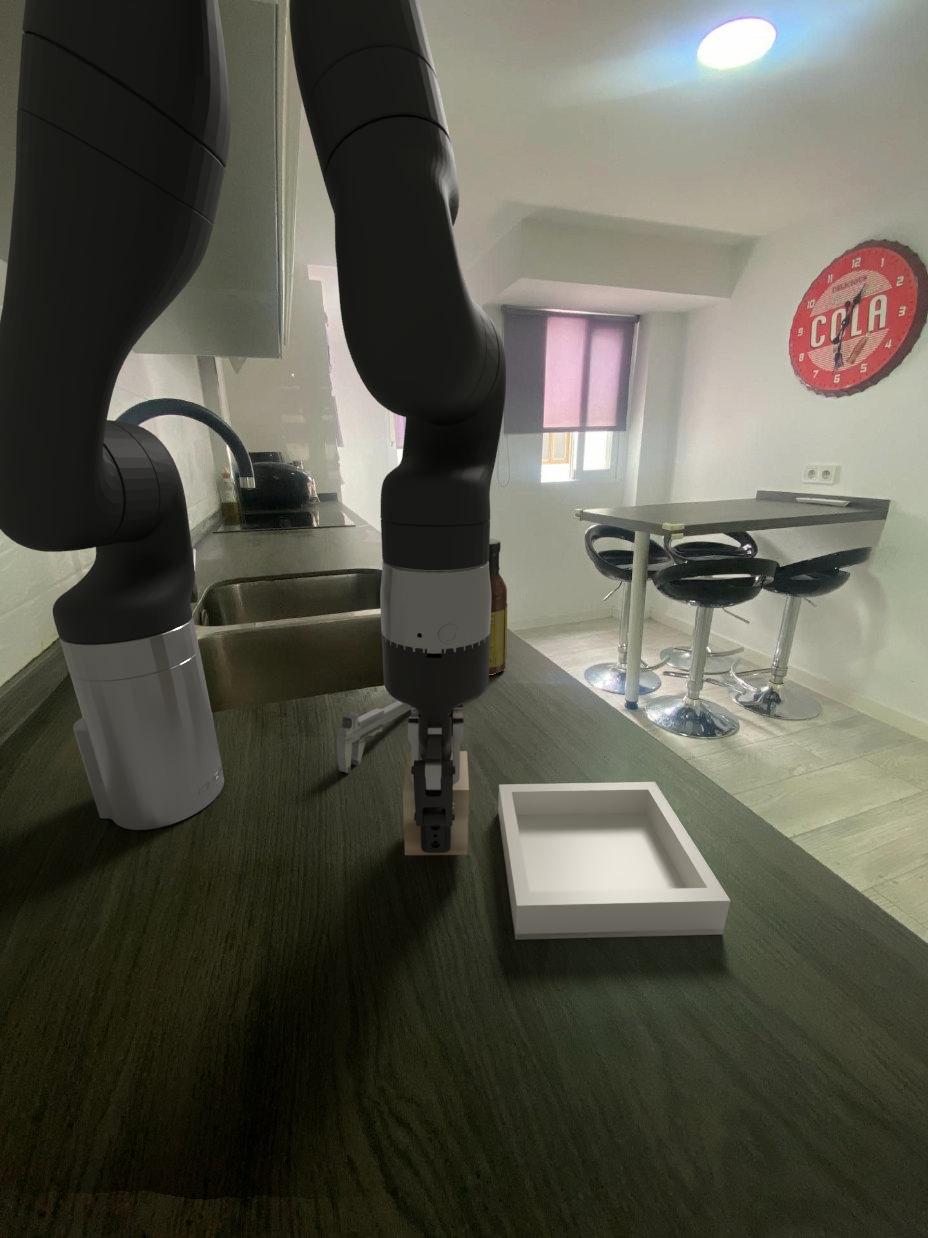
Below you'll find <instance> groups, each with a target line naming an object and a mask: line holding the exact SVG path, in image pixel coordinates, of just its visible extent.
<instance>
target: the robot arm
mask: <svg viewBox="0 0 928 1238" xmlns="http://www.w3.org/2000/svg"><path fill="white" fill-rule="evenodd" d="M288 6H289V9H288V10H289V15H288V16H289V29H290V30H289V31H290V39H291V49H292V55H293V62H294V63H293V64H294V69H295V74H296V80H297V83H298V84H297V85H298V89H299V93H300V96H301V100H302V106H303V108H304V114H305V117H306V121H307V125H308V127H309V131H310V135H311V138H312V142H313V146H314V149H315V153H316V157H317V160H318V163H319V167H320V168H319V169H320V172H321V174H322V179H323V183H324V186H325V188H326V192H327V196H328V198H329V199H328V200H329V203H330V206H331V209H332V211H333V217H334V248H335V249H334V252H335V259H336V261H335V262H336V270H337V283H338V297H339V309H340V317H341V323H342V329H343V333H344V335H343V336H344V339H345V341H346V342H345V343H346V346H347V349H348V352H349V354H350V358H351V360H352V362H353V365H354V367H355V369H356V372H357V374H358V376H359V377H360V380H361V382H362V384H363V385H364V387H365V388H366V390H367V392H368V393H369V394H370V395H371V396H372V397H373V399H374V400H376V402H377V403H378V404H380V405H381V406H382V407H384V408H385V409H386V410H388V411H389V412H391V413H393V414H395V415H397V416H401V417H403V418H405V424H404V425H405V426H404V434H403V435H404V436H403V437H404V438H403V446H402V456H401V461H400V463H398V465H397V466H396V467H395V468H394V469H392V470H391V471H390V472H389V473H387V475H386V476H385V477H384V478H383V481H382V484H381V491H380V535H381V558H382V562H381V563H382V569H381V578H380V579H381V580H380V591H379V595H380V596H379V598H380V600H379V602H380V603H379V605H380V623H381V624H380V626H381V643H382V644H381V645H382V670H383V673H382V674H383V675H382V676H383V686H384V687H385V688H384V689H385V690H386V692H387V693H388V694H389V695H390V697H392V698H393V699H395V700H396V701H400V702H402V703H406V704H408V705H410V706H411V709H410V714H411V715H410V716H409V717H408V722H407V740H408V742H409V744H410V746H411V750H410V751H411V779H412V781H413V782H414V797H415V814H414V821H416V826H421V849H422V851H424V852H426V853H445V852H448V851H449V850H450V848H451V826H452V820H453V821H455V813H452V811H453V809H454V802H453V785H454V784H456V783H457V782H458V781H459V779H460V751H461V744H462V743H463V742H464V731H465V730H464V729H465V728H464V725H465V722H464V715H463V714H464V710H463V709H464V704H469V703H471V702H472V701H475V700H476V699H477V698H479V697H481V696H482V695H483V694H484V692H485V691H486V690H487V688H488V686H489V680H490V679H489V678H490V676H489V655H490V623H491V584H490V575H489V561H488V560H489V543H490V539H491V537H490V535H491V498H490V495H491V485H492V484H491V483H492V478H493V474H494V473H493V472H494V471H495V465H496V460H497V456H498V455H497V454H498V450H499V449H498V448H499V442H500V436H501V431H502V424H503V418H504V412H505V405H506V404H505V403H506V394H507V392H506V390H507V363H506V351H505V348H504V343H503V340H502V338H501V334H500V331H499V329H498V327H497V326H496V324H495V323H494V321H493V320H492V319H491V317H490V316H489V315H488V314H487V312H485V311H484V310H483V309H482V307H481V306H479V304H477V303H476V301H475V299H473V298H472V297H471V296H470V295H471V294H470V292H469V290H468V286H467V283H466V280H465V278H464V274H463V271H462V268H461V263H460V259H459V258H460V257H459V254H458V253H459V252H458V249H457V243H456V238H455V232H454V225H455V223H456V220H457V217H458V213H459V209H460V208H459V206H460V190H459V189H460V188H459V178H458V171H457V167H456V159H455V156H454V155H455V154H454V150H453V146H452V141H451V137H450V132H449V127H448V122H447V118H446V113H445V109H444V105H443V100H442V93H441V90H440V86H439V81H438V76H437V73H436V68H435V65H434V64H435V63H434V59H433V55H432V51H431V48H430V42H429V39H428V34H427V31H426V30H427V29H426V25H425V22H424V18H423V13H422V9H421V5H420V1H419V0H289V5H288ZM222 26H223V25H222V20H221V12H220V7H219V0H25V2H24V11H23V21H22V28H21V29H22V32H23V33H22V34H21V46H20V47H21V49H20V61H19V62H20V63H19V79H18V91H17V92H18V95H17V110H16V137H15V138H16V139H15V140H16V142H15V143H16V145H15V147H16V148H15V178H14V191H13V202H12V203H13V204H12V213H11V214H12V215H11V227H10V236H9V237H10V238H9V248H8V258H7V265H6V275H5V285H4V293H3V302H2V308H1V309H2V310H1V313H0V314H1V315H0V531H1V532H2V533H3V534H4V535H5V536H6V537H7V538H9V539H10V540H11V541H12V542H13V543H14V542H15V543H16V544H18V545H20V546H21V547H24V548H26V549H29V550H32V551H37V552H45V553H49V552H50V553H53V552H54V553H57V552H58V553H59V552H60V553H61V552H62V553H63V552H72V551H82V550H87V549H94V548H95V559H94V562H93V564H92V566H91V567H90V568H89V570H88V571H87V572H86V574H85V575H84V576H83V577H82V578H81V579H80V580H79V581H78V582H76V584H75V585H72V586H71V587H70V588H69V589H68V590H66V591H65V592H64V593H62V594H61V595H60V596H59V597H58V598H57V599H56V600H55V602H54V603H53V605H52V616H53V621H54V624H55V628H56V632H57V635H58V637H59V642H60V645H61V648H62V652H63V655H64V658H65V662H66V665H67V669H68V673H69V675H70V679H71V682H72V685H73V688H74V692H75V695H76V699H77V702H78V705H79V709H80V712H81V718H79V719H78V720H76V721H75V723H74V724H73V726H72V729H73V733H74V735H75V739H76V742H77V743H76V744H77V746H78V750H79V753H80V756H81V760H82V762H83V766H84V769H85V772H86V776H87V778H88V783H89V786H90V788H91V789H90V790H91V792H92V796H93V798H94V803H95V805H96V808H97V812H98V816H99V818H100V819H110V820H112V821H113V822H114V824H116V825H117V826H119V827H121V828H123V829H127V830H133V831H137V830H138V831H142V830H143V831H147V830H154V829H159V828H162V827H167V826H171V825H174V824H176V823H179V822H181V821H183V820H186V819H188V818H190V817H191V816H194V815H196V814H197V813H199V812H200V811H202V810H204V809H205V808H206V807H207V806H209V805H210V804H211V803H212V802H213V801H214V800H216V798H217V797H218V796H219V794H220V793H221V792H222V790H223V788H224V785H225V776H224V771H223V763H222V760H221V755H220V750H219V742H218V738H217V733H216V728H215V722H214V717H213V712H212V707H211V702H210V697H209V691H208V687H207V681H206V676H205V671H204V666H203V661H202V656H201V650H200V647H199V646H200V645H199V641H198V640H199V639H198V636H197V630H196V627H195V625H196V624H195V620H194V616H193V610H192V602H191V601H192V595H193V591H194V587H195V583H196V569H195V561H194V552H193V546H192V544H193V543H192V538H191V530H190V529H191V528H190V521H189V520H190V519H189V513H188V506H187V501H186V500H187V499H186V495H185V490H184V485H183V481H182V478H181V475H180V473H179V469H178V467H177V465H176V463H175V460H174V458H173V457H172V455H171V452H170V451H169V449H168V448H167V447H166V445H165V444H164V443H163V441H161V440H160V439H159V438H158V437H157V436H156V434H153V433H152V432H151V431H150V430H148V429H146V428H144V427H142V426H140V425H138V424H134V423H130V422H126V421H120V420H112V419H108V415H109V410H110V406H111V402H112V401H111V400H112V397H113V393H114V389H115V385H116V383H117V380H118V376H119V374H120V371H121V369H122V368H123V365H124V363H125V362H126V359H127V357H128V356H129V355H130V353H131V351H132V349H133V347H134V346H135V345H136V344H137V342H138V341H139V340H140V339H141V338H142V337H143V335H144V334H145V332H146V331H147V330H148V329H149V328H150V327H151V325H152V324H153V323H154V322H156V320H157V319H158V318H159V317H161V315H162V314H163V313H164V311H166V309H167V308H168V307H169V306H170V305H171V304H172V303H173V302H174V300H175V299H176V298H177V297H178V295H180V293H181V292H182V290H184V288H185V287H186V286H187V285H188V283H189V282H190V280H191V279H192V277H193V276H194V274H196V271H197V270H198V269H199V267H200V266H201V263H202V262H203V260H204V257H205V254H206V252H207V250H208V246H209V243H210V240H211V236H212V234H213V233H212V231H213V230H214V224H215V220H216V214H217V210H218V205H219V201H220V196H221V192H222V188H223V187H222V185H223V181H224V177H225V173H226V170H225V168H226V167H227V163H228V156H229V150H230V143H231V142H230V141H231V99H230V98H231V97H230V83H229V73H228V65H227V57H226V47H225V39H224V35H223V34H224V33H223V27H222ZM451 752H453V760H450V758H451ZM420 754H421V758H422V760H420Z"/></svg>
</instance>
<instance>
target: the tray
mask: <svg viewBox="0 0 928 1238" xmlns="http://www.w3.org/2000/svg"><path fill="white" fill-rule="evenodd" d="M497 810H498V812H497V814H498V820H499V827H500V828H499V829H500V834H501V841H502V842H501V843H502V849H503V856H504V857H503V859H504V865H505V872H506V879H507V888H508V895H509V902H510V910H511V916H512V917H511V918H512V924H513V931H514V940H518V941H519V940H550V939H551V940H552V939H554V940H555V939H587V938H588V939H591V938H593V939H594V938H596V939H597V938H599V939H600V938H626V937H627V938H629V937H633V938H634V937H635V938H637V937H667V936H668V937H672V936H674V937H676V936H677V937H678V936H708V935H710V936H711V935H723V933H724V929H725V925H726V921H727V917H728V914H729V913H728V912H729V908H730V904H731V899H730V898H729V896H728V895H727V893H726V891H725V889H724V888H723V887H722V885H721V883H720V882H719V881H718V878H717V877H716V876H715V874H714V873H713V871H712V869H711V868H710V866H709V865H708V863H707V862H706V860H705V858H704V857H703V855H702V854H701V852H700V850H699V849H698V847H697V846H696V844H695V843H694V841H693V840H692V838H691V837H690V835H689V834H688V832H687V830H686V829H685V827H684V826H683V824H682V823H681V821H680V819H679V818H678V816H677V814H676V813H675V812H674V809H673V808H672V807H671V805H670V804H669V802H668V801H667V799H666V797H665V796H664V793H662V791H661V789H660V788H659V786H658V785H657V783H656V781H635V782H634V781H633V782H632V781H629V782H628V781H627V782H626V781H625V782H621V781H619V782H574V783H571V782H569V783H563V782H562V783H523V784H522V783H514V784H513V783H512V784H510V783H509V784H507V783H506V784H498V808H497Z"/></svg>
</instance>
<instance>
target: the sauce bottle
mask: <svg viewBox="0 0 928 1238" xmlns="http://www.w3.org/2000/svg"><path fill="white" fill-rule="evenodd" d="M501 544H502V543H501V541H500V540H499V539H495V538H490V543H489V560H488V561H489V575H490V584H491V623H490V655H489V674H494V673H497V672H500V671H502V670H504V669H505V670H506V666H507V665H506V664H507V663H506V661H507V656H508V651H507V650H508V603H507V602H508V590H507V589H508V587H507V585H506V583H505V581H504V578H502V576H501V574H500V552H501V547H502V546H501ZM505 670H504V671H505Z"/></svg>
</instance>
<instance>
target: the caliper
mask: <svg viewBox="0 0 928 1238" xmlns="http://www.w3.org/2000/svg"><path fill="white" fill-rule="evenodd" d="M409 711H411V706H410V705H408V704H406V703H402V702H400V701H398V700H396V701H393V702H392V703H390V704H389V705H387V706H385V707H383V708H378V707H377V708H375V709H373V710H372V709H371V710H370V711H368V712H367V713H365V714H362V715H359V713H357V712H353V711H349V714H348V716H347V715H342V723H341V724H342V725H341V726H340V727H338V728H337V729H338V730H337V740H336V741H337V742H336V754H337V765H338V770H339V771H340V772H343V773H346V774H350V773H351V765H354V766H356V767H357V766H360V765H361V763H362V758H363V753H364V749H365V745H366V740H367V739H368V738H375V737H377V735H379V734H382V733H383V732H384V725H387V724H388V723H391V722H392V721H393V720H395V719H397V718H399V717H400V716H402V715H404V714H406V713H407V712H409Z"/></svg>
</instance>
